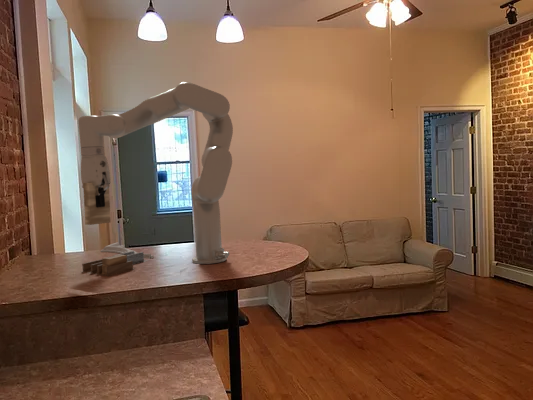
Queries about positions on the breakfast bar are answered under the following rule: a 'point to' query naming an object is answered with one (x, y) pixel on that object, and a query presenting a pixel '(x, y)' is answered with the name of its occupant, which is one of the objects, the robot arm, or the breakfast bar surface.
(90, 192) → the beige wooden block
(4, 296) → the breakfast bar surface
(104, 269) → the offcut bottom
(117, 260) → the offcut top
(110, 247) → the molding
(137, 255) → the stand
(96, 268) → the rack
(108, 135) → the robot arm
